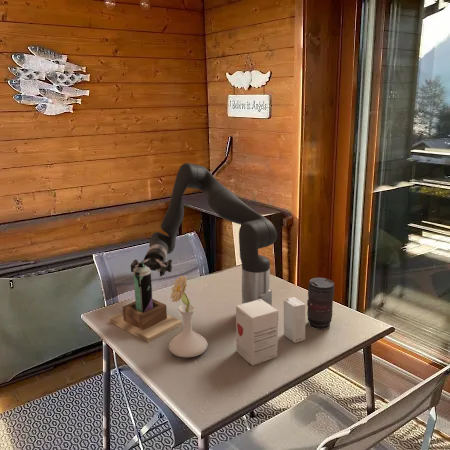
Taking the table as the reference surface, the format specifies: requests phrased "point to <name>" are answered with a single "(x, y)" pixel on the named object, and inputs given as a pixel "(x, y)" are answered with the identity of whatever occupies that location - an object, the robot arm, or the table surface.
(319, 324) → the camera lens
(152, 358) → the table surface
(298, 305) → the skincare box
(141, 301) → the spray can
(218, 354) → the table surface
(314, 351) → the table surface
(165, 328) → the can holder
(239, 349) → the supplement box
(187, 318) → the flower in vase
